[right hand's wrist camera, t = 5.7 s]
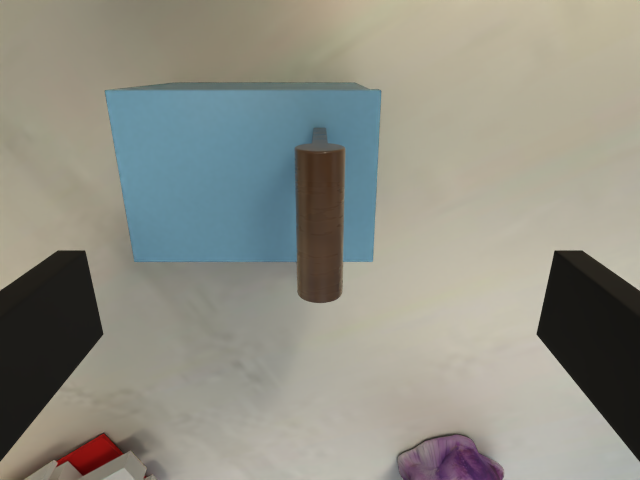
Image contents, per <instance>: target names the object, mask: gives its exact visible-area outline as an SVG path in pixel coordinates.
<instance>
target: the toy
mask: <svg viewBox="0 0 640 480" xmlns="http://www.w3.org/2000/svg"><path fill="white" fill-rule="evenodd" d="M146 469H147V468H146V467H145V466H144V464H143V463H142V462H141V461H140V460H139V459H138V458H137V457H136V456H135V455H134V454H133V452H132V451H131V450H130V451H129V452H127V453H125V454H123V453H122V452H121V451H120V449H119V448H118V447H117V446H116V445H115V444H114V443H113V442H112V441H111V440H110V439H109V438H108V437H107V436H106V435H105V434H104V433H103V434H102V435H100V436H98V437H97V438H95V439H93V440H92V441H90V442H88V443H87V444H85V445H83V446H81V447H80V448H78V449H76V450H75V451H73V452H71V453H70V454H68V455H66V456H65V457H63V458H61V459H60V460H58V461H55V460H53V461H51V462H50V463H48V464H47V465H45V466H44V467H42V468H41V469H39V470H38V471H36V472H35V473H33V474H32V475H30V476H29V477H27V478H26V479H24V480H157V479H156V478H155V476H154V475H153V474H152V475H150V476H149V477H146V476H145V472H146Z"/></svg>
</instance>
